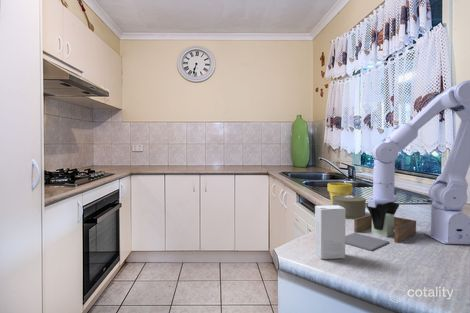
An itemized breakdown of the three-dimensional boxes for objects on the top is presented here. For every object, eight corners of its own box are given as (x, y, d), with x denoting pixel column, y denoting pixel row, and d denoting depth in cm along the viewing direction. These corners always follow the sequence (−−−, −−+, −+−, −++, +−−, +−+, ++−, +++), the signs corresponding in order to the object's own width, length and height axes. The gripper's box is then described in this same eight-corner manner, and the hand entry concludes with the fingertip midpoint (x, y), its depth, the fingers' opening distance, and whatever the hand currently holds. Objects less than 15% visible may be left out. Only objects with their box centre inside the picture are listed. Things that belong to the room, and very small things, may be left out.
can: (330, 217, 108) (330, 199, 107) (333, 210, 119) (334, 194, 118) (365, 221, 103) (365, 202, 102) (365, 213, 113) (366, 196, 113)
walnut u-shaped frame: (415, 233, 88) (416, 220, 87) (397, 242, 80) (397, 228, 80) (374, 224, 97) (374, 213, 97) (354, 231, 90) (354, 219, 89)
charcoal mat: (389, 242, 79) (389, 241, 79) (371, 251, 73) (371, 249, 73) (354, 234, 87) (354, 232, 87) (335, 240, 81) (335, 239, 81)
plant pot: (328, 202, 135) (328, 181, 134) (352, 204, 131) (352, 182, 131) (326, 207, 125) (326, 184, 125) (352, 209, 121) (352, 185, 121)
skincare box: (337, 252, 72) (338, 204, 72) (346, 259, 68) (347, 208, 67) (313, 253, 72) (314, 204, 71) (320, 260, 67) (321, 208, 67)
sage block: (393, 234, 87) (394, 214, 87) (386, 237, 85) (387, 216, 84) (378, 230, 91) (378, 211, 91) (371, 233, 88) (371, 214, 88)
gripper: (381, 179, 95) (380, 221, 95) (358, 183, 86) (357, 229, 86) (404, 182, 89) (403, 225, 90) (382, 186, 80) (381, 234, 81)
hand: (382, 227), depth 88 cm, fingers open, 5 cm apart
